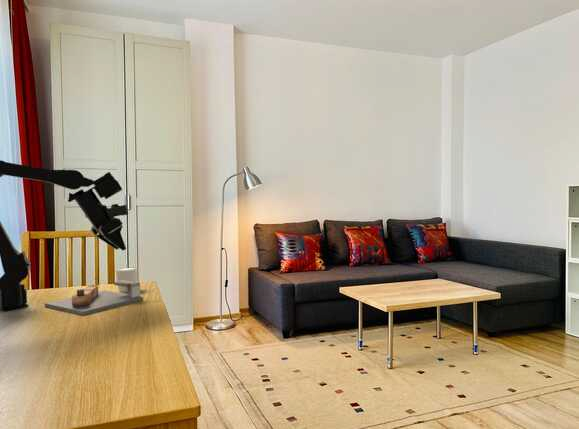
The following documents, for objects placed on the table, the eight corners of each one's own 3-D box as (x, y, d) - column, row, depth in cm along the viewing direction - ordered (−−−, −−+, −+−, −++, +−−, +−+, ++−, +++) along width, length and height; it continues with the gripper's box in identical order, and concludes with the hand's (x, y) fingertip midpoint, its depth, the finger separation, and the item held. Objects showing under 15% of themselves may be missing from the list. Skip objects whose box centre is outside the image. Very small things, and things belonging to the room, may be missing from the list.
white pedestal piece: (115, 288, 149) (115, 268, 149) (137, 286, 152) (136, 266, 152) (117, 292, 143) (116, 271, 143) (139, 290, 146) (138, 269, 146)
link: (87, 305, 121) (86, 291, 120) (70, 307, 120) (69, 292, 120) (101, 292, 138) (101, 279, 138) (86, 293, 137) (86, 280, 137)
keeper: (132, 298, 130) (131, 284, 130) (114, 295, 134) (113, 281, 134) (140, 296, 132) (139, 282, 132) (122, 293, 137) (122, 280, 137)
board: (82, 315, 116) (82, 311, 116) (44, 306, 126) (44, 303, 126) (142, 300, 132) (142, 296, 132) (104, 293, 142) (104, 290, 142)
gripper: (122, 191, 131) (151, 235, 135) (109, 195, 147) (136, 235, 151) (87, 211, 126) (119, 256, 130) (78, 213, 141) (106, 253, 145)
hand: (121, 249), depth 139 cm, fingers open, 9 cm apart
